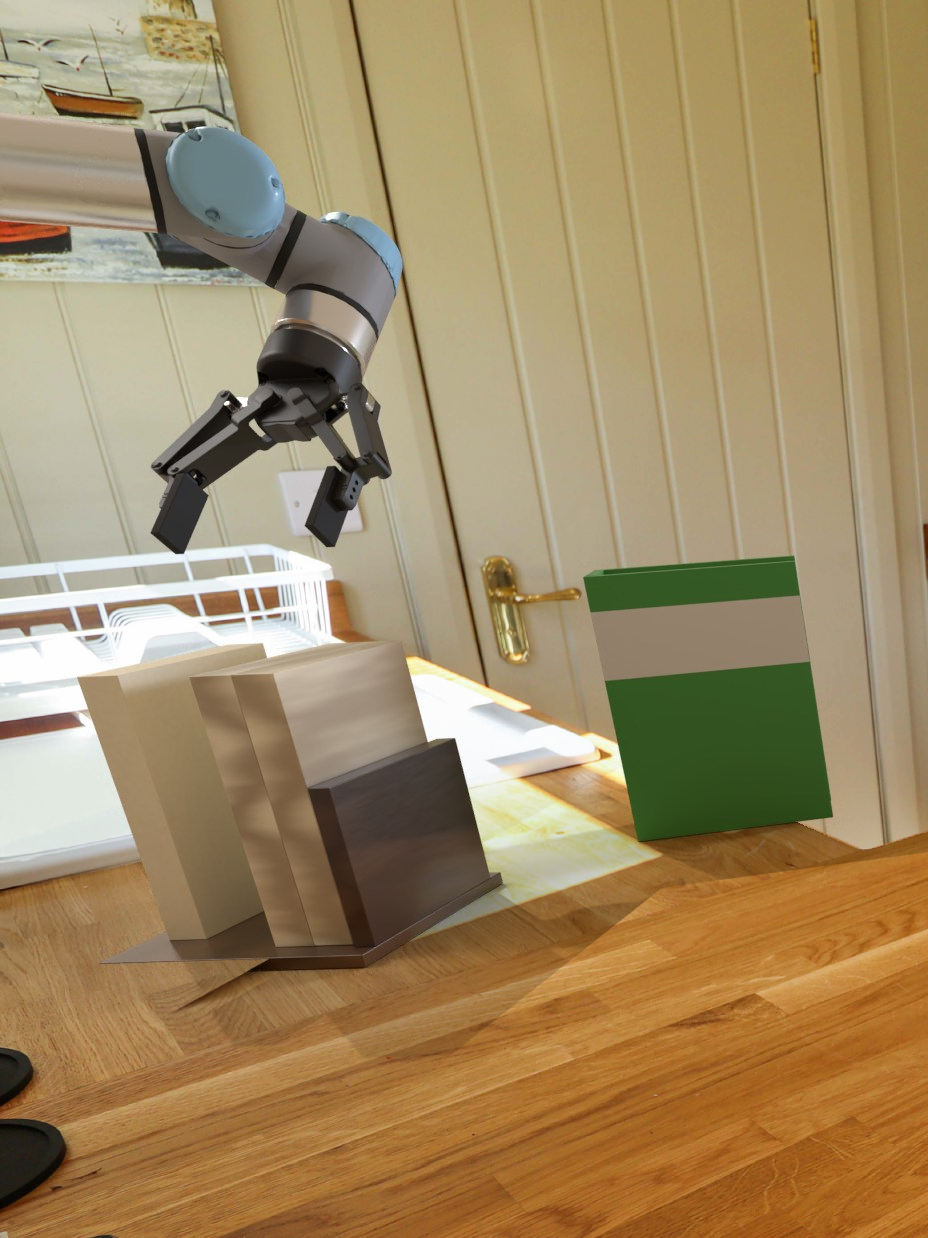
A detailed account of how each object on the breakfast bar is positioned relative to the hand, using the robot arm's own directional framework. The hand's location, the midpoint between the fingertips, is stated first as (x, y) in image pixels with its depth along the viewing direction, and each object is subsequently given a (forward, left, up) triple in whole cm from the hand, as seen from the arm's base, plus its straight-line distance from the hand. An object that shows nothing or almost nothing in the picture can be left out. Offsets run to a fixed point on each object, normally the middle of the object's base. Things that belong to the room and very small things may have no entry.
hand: (243, 540), depth 107 cm
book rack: (+11, -17, -29) cm, 35 cm away
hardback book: (+35, +9, -29) cm, 46 cm away
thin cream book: (+4, -15, -28) cm, 32 cm away
